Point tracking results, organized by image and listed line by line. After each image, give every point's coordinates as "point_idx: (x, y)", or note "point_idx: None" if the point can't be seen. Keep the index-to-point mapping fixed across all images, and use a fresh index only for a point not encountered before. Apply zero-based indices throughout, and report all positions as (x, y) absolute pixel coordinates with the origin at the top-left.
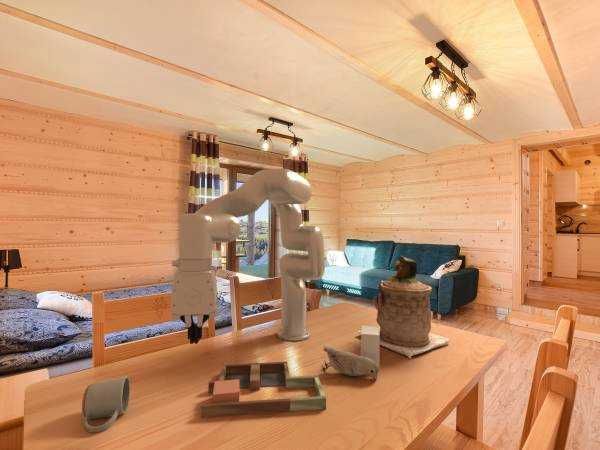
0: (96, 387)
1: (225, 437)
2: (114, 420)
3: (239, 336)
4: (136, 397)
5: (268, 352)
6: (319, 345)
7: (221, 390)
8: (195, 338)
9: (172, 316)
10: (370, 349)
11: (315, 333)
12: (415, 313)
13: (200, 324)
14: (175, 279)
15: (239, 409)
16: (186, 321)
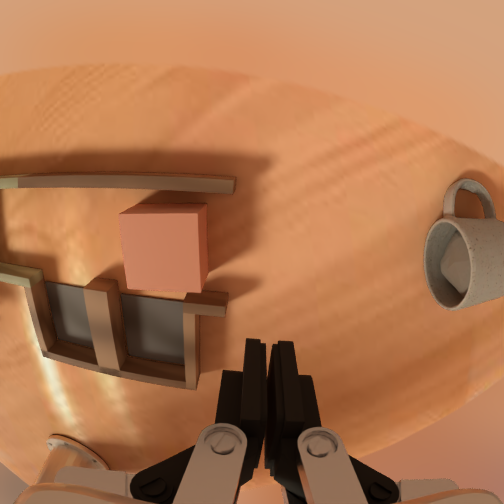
0: None
1: (168, 87)
2: (444, 200)
3: None
4: (408, 303)
5: (108, 422)
6: (23, 405)
7: (173, 233)
8: (258, 359)
9: (448, 487)
10: None
11: (43, 443)
12: None
13: (213, 440)
14: None
15: (129, 173)
16: (342, 466)
